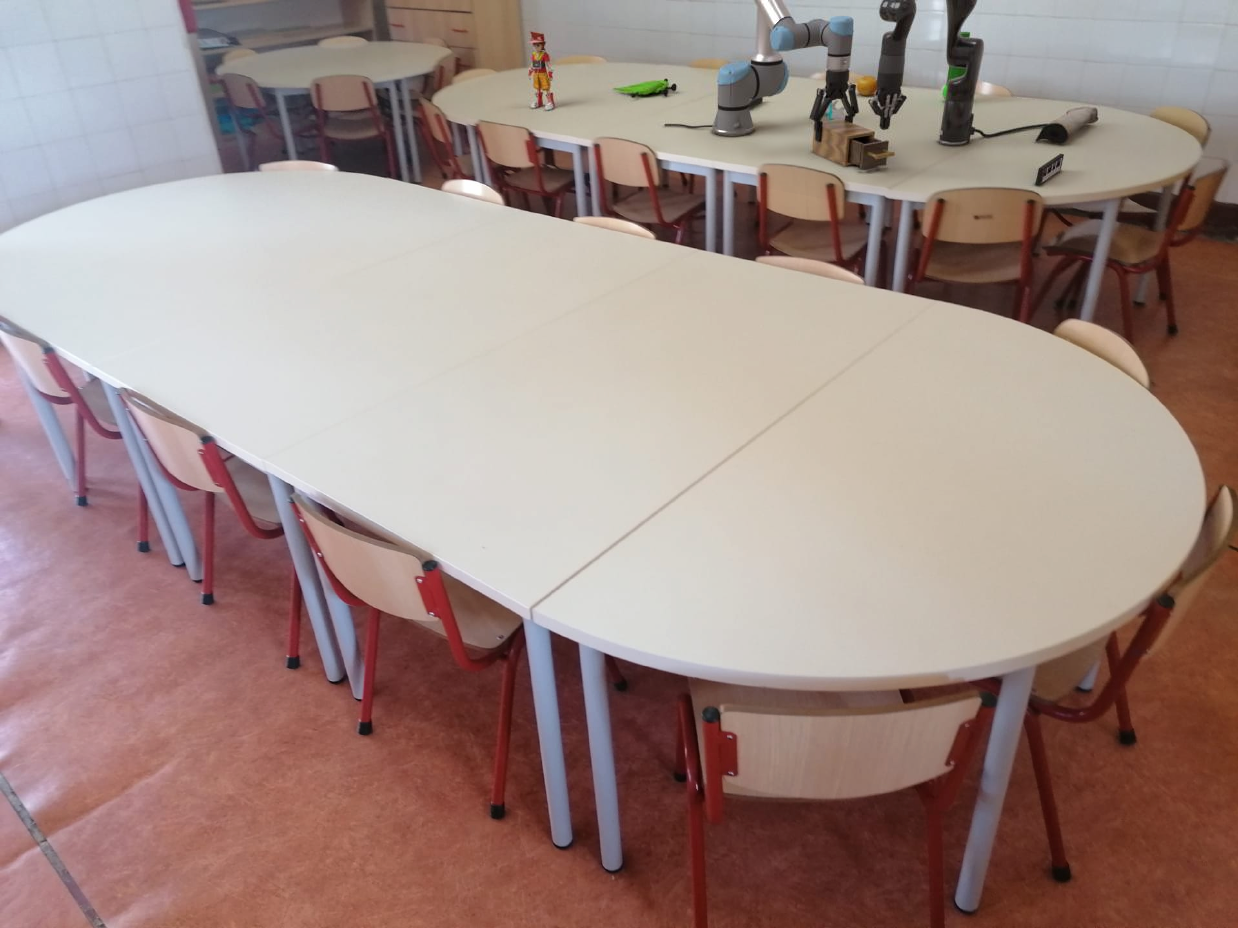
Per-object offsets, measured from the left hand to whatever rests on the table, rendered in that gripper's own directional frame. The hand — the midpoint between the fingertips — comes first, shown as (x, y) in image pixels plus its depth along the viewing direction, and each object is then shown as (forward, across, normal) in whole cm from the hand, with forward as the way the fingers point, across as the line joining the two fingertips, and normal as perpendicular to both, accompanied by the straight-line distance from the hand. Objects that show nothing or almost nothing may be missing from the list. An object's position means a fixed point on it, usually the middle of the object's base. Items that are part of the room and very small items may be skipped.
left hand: (832, 138), depth 306 cm
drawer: (+4, 0, -18) cm, 18 cm away
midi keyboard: (+5, +40, -58) cm, 71 cm away
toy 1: (+4, -66, +120) cm, 137 cm away
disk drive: (+5, +6, +74) cm, 75 cm away
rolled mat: (+5, +80, -25) cm, 83 cm away
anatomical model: (+5, +24, +38) cm, 45 cm away
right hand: (-9, 0, -28) cm, 29 cm away
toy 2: (+4, -20, +122) cm, 123 cm away
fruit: (+5, +57, +61) cm, 83 cm away
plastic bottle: (+5, +77, +32) cm, 84 cm away
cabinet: (+5, 0, -6) cm, 8 cm away
